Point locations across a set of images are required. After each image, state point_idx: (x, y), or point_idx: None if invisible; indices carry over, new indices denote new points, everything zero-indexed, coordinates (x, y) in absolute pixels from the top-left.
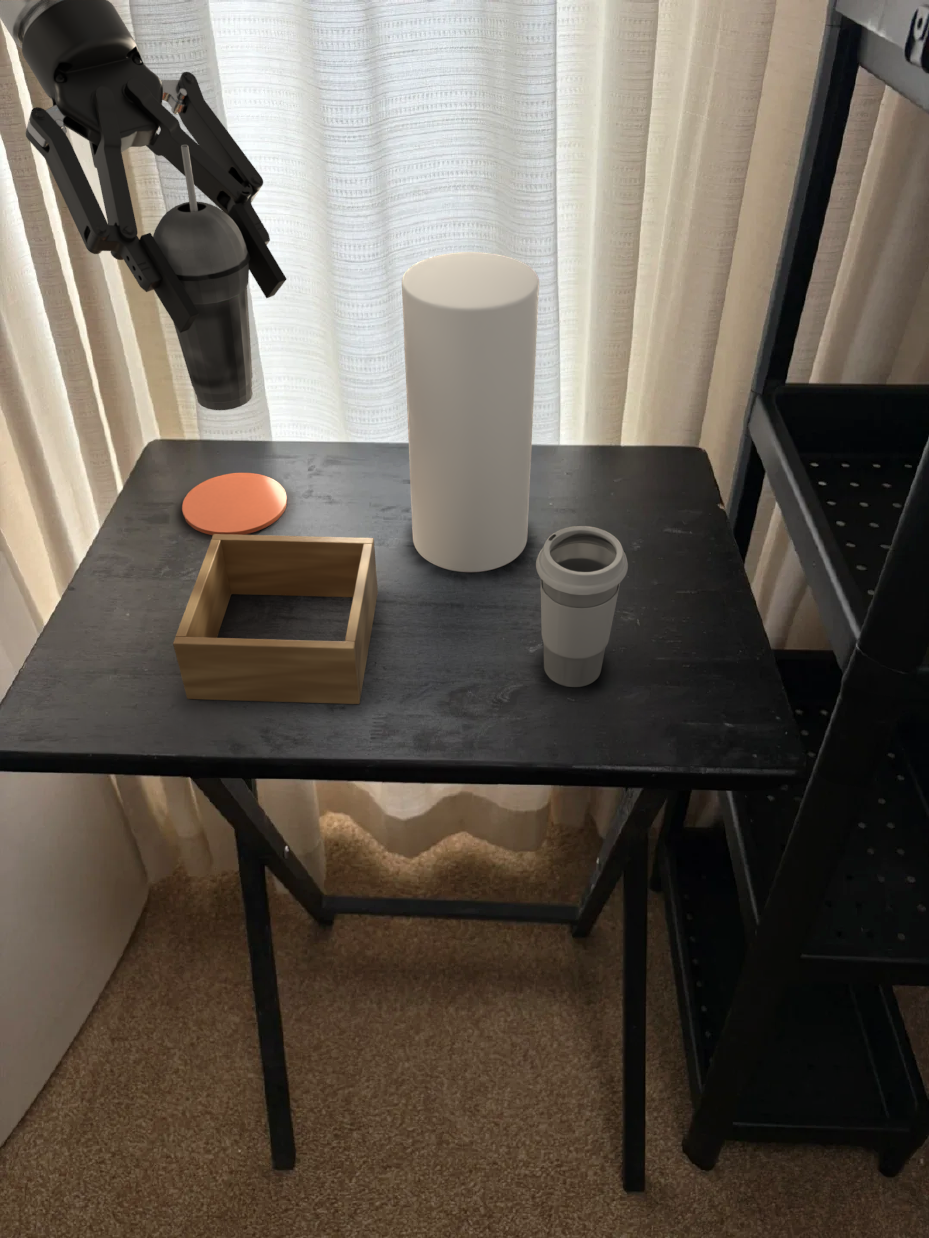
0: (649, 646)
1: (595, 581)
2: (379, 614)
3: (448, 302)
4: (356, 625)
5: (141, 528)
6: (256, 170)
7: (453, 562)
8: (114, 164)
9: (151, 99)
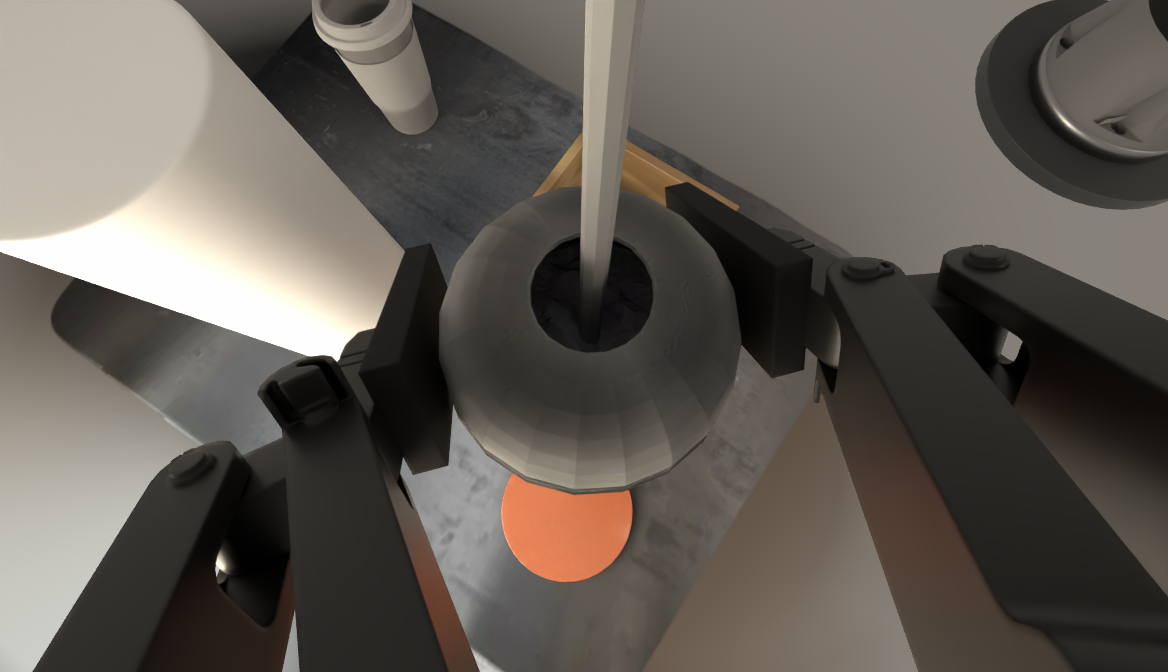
0: (342, 102)
1: None
2: None
3: (172, 28)
4: (574, 143)
5: (684, 526)
6: (130, 515)
7: None
8: (1027, 499)
9: None
